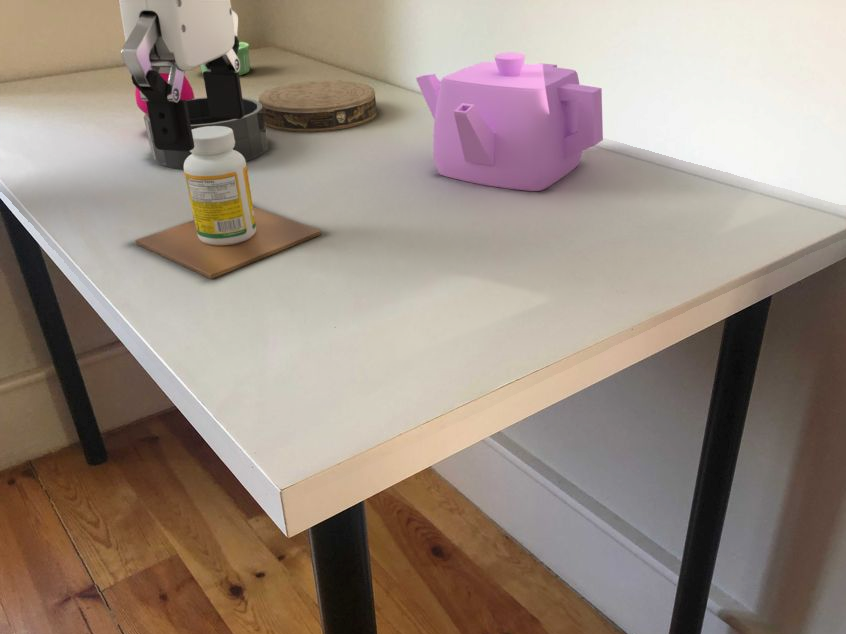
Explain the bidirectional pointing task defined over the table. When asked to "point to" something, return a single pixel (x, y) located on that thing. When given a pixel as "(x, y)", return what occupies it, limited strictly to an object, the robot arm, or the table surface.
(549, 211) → the table surface
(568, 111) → the teakettle
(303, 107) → the wood slice
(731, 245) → the table surface
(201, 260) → the mat
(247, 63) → the ramekin
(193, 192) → the supplement bottle
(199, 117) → the pan
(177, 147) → the robot arm
